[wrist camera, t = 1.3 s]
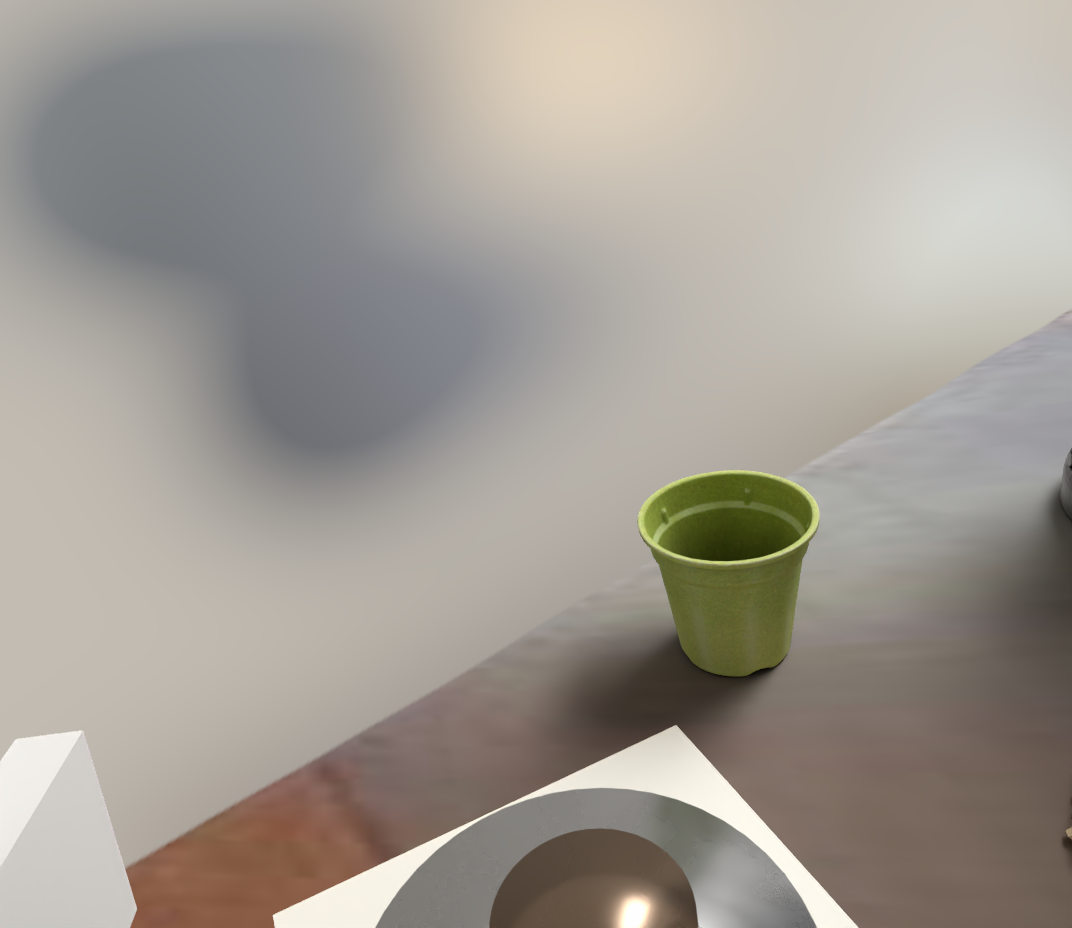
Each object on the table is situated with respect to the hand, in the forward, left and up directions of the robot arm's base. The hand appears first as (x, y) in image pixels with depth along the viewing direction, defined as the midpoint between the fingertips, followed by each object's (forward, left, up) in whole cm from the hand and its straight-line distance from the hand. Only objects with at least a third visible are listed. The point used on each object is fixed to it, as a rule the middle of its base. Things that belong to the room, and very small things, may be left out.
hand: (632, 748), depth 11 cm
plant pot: (-19, -27, -25) cm, 41 cm away
